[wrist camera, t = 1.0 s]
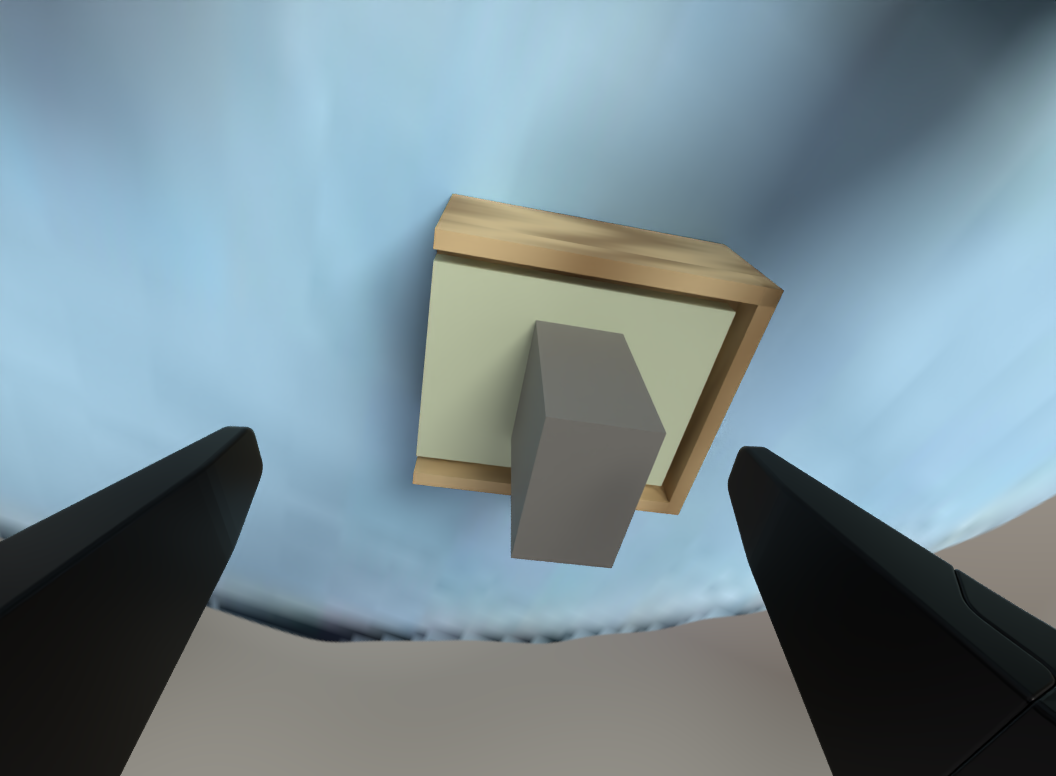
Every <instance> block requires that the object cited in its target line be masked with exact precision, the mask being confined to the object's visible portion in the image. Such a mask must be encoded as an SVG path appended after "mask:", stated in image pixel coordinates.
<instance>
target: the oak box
mask: <svg viewBox="0 0 1056 776" xmlns="http://www.w3.org/2000/svg"><path fill="white" fill-rule="evenodd" d="M433 249H437V253H438V254H444V255H450V256H456V257H461V258H467V259H473V260H479V261H485V262H490V263H496V264H502V265H508V266H514V267H519V268H525V269H531V270H537V271H543V272H548V273H554V274H560V275H566V276H572V277H578V278H583V279H589V280H595V281H601V282H607V283H612V284H618V285H624V286H630V287H636V288H641V289H647V290H653V291H659V292H665V293H670V294H676V295H682V296H688V297H694V298H699V299H705V300H711V301H717V302H723V303H727V304H728V305H729V306H730V307H731V308H732V309H733V310H734V311H735V312H736V313H735V316H734V318H733V320H732V323H731V325H730V327H729V330H728V332H727V334H726V337H725V339H724V341H723V344H722V346H721V348H720V351H719V353H718V355H717V358H716V360H715V362H714V365H713V367H712V369H711V372H710V374H709V376H708V379H707V381H706V383H705V386H704V388H703V390H702V393H701V395H700V397H699V399H698V402H697V404H696V406H695V409H694V411H693V413H692V416H691V418H690V420H689V423H688V425H687V427H686V430H685V432H684V434H683V437H682V439H681V441H680V444H679V446H678V448H677V451H676V453H675V455H674V458H673V460H672V462H671V465H670V467H669V469H668V472H667V474H666V476H665V479H664V481H663V483H662V486H656V485H648V484H646V485H645V487H644V490H643V492H642V495H641V497H640V500H639V502H638V504H637V507H636V509H635V510H640V511H648V512H657V513H665V514H674V515H678V514H679V512H680V510H681V508H682V506H683V503H684V501H685V499H686V497H687V495H688V493H689V491H690V489H691V487H692V484H693V482H694V480H695V478H696V476H697V474H698V472H699V470H700V467H701V465H702V463H703V461H704V459H705V457H706V455H707V453H708V450H709V448H710V446H711V444H712V442H713V440H714V438H715V436H716V433H717V431H718V429H719V427H720V425H721V423H722V421H723V419H724V417H725V414H726V412H727V410H728V408H729V406H730V404H731V402H732V400H733V397H734V395H735V393H736V391H737V389H738V387H739V385H740V383H741V380H742V378H743V376H744V374H745V372H746V370H747V368H748V366H749V363H750V361H751V359H752V357H753V355H754V353H755V351H756V349H757V347H758V344H759V342H760V340H761V338H762V336H763V334H764V332H765V330H766V327H767V325H768V323H769V321H770V319H771V317H772V315H773V313H774V310H775V308H776V306H777V304H778V302H779V300H780V298H781V296H782V293H783V291H784V290H782V289H781V288H780V287H779V286H777V285H776V284H775V283H773V282H772V281H771V280H770V279H768V278H767V277H766V276H764V275H763V274H762V273H761V272H759V271H758V270H757V269H755V268H754V267H753V266H752V265H750V264H749V263H748V262H746V261H745V260H744V259H743V258H741V257H740V256H739V255H737V254H736V253H735V252H734V251H732V250H731V249H730V248H728V247H727V246H726V245H724V244H719V243H714V242H708V241H703V240H698V239H692V238H687V237H682V236H676V235H671V234H666V233H660V232H655V231H650V230H644V229H639V228H634V227H628V226H623V225H618V224H612V223H607V222H602V221H596V220H591V219H586V218H580V217H575V216H569V215H564V214H559V213H553V212H548V211H543V210H537V209H532V208H527V207H521V206H516V205H511V204H505V203H500V202H495V201H489V200H484V199H479V198H473V197H468V196H463V195H457V194H452V196H451V198H450V200H449V202H448V204H447V206H446V208H445V210H444V212H443V214H442V216H441V218H440V220H439V222H438V224H437V226H436V227H435V234H434V245H433ZM413 484H418V485H427V486H435V487H444V488H452V489H461V490H469V491H478V492H486V493H495V494H503V495H511V467H503V466H495V465H487V464H479V463H471V462H463V461H455V460H447V459H438V458H430V457H422V456H418V457H417V461H416V465H415V469H414V473H413Z"/></svg>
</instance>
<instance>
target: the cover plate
mask: <svg viewBox="0 0 1056 776" xmlns="http://www.w3.org/2000/svg"><path fill="white" fill-rule="evenodd" d="M735 313H736V312H735V311H734V310H733V309H732V308H731V307H730V306H729V305H728V304H727V303H723V302H717V301H711V300H705V299H699V298H694V297H688V296H682V295H676V294H670V293H665V292H659V291H653V290H647V289H641V288H636V287H630V286H624V285H618V284H612V283H607V282H601V281H595V280H589V279H583V278H578V277H572V276H566V275H560V274H554V273H548V272H543V271H537V270H531V269H525V268H519V267H514V266H508V265H502V264H496V263H490V262H485V261H479V260H473V259H467V258H461V257H456V256H450V255H444V254H438V253H437V254H436V256H435V259H434V261H433V272H432V284H431V295H430V306H429V317H428V328H427V340H426V351H425V362H424V373H423V384H422V396H421V407H420V418H419V429H418V441H417V452H416V456H422V457H430V458H438V459H447V460H455V461H463V462H471V463H479V464H487V465H495V466H503V467H511V558H517V559H527V560H536V561H546V562H556V563H566V564H575V565H585V566H595V567H605V568H612V566H613V563H614V561H615V558H616V556H617V554H618V551H619V549H620V546H621V544H622V541H623V539H624V536H625V534H626V531H627V529H628V527H629V524H630V522H631V519H632V517H633V514H634V512H635V509H636V507H637V504H638V502H639V500H640V497H641V495H642V492H643V490H644V487H645V485H646V484H648V485H656V486H662V483H663V481H664V479H665V476H666V474H667V472H668V469H669V467H670V465H671V462H672V460H673V458H674V455H675V453H676V451H677V448H678V446H679V444H680V441H681V439H682V437H683V434H684V432H685V430H686V427H687V425H688V423H689V420H690V418H691V416H692V413H693V411H694V409H695V406H696V404H697V402H698V399H699V397H700V395H701V393H702V390H703V388H704V386H705V383H706V381H707V379H708V376H709V374H710V372H711V369H712V367H713V365H714V362H715V360H716V358H717V355H718V353H719V351H720V348H721V346H722V344H723V341H724V339H725V337H726V334H727V332H728V330H729V327H730V325H731V323H732V320H733V318H734V316H735Z"/></svg>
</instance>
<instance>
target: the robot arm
mask: <svg viewBox="0 0 1056 776" xmlns="http://www.w3.org/2000/svg"><path fill="white" fill-rule="evenodd" d="M262 470H263V463H262V459H261V455H260V451H259V448H258V444H257V440H256V436H255V433H254V431H253V430H252V429H251V428H249V427H237V426H227V427H224V428H222V429H220V430H218V431H216V432H214V433H212V434H210V435H208V436H206V437H204V438H202V439H200V440H198V441H196V442H194V443H192V444H190V445H189V446H187V447H185V448H183V449H181V450H179V451H177V452H175V453H173V454H171V455H169V456H167V457H165V458H163V459H161V460H159V461H157V462H155V463H153V464H151V465H149V466H147V467H145V468H143V469H142V470H140V471H138V472H136V473H134V474H132V475H130V476H128V477H126V478H124V479H122V480H120V481H118V482H116V483H114V484H112V485H110V486H108V487H106V488H104V489H102V490H100V491H98V492H97V493H95V494H93V495H91V496H89V497H87V498H85V499H83V500H81V501H79V502H77V503H75V504H73V505H71V506H69V507H67V508H65V509H63V510H61V511H59V512H57V513H55V514H53V515H51V516H50V517H48V518H46V519H44V520H42V521H40V522H38V523H36V524H34V525H32V526H30V527H28V528H26V529H24V530H22V531H20V532H18V533H16V534H14V535H12V536H10V537H8V538H6V539H5V540H3V541H1V542H0V776H120V775H121V773H122V771H123V769H124V767H125V765H126V763H127V761H128V759H129V757H130V755H131V753H132V751H133V749H134V747H135V745H136V743H137V741H138V739H139V737H140V735H141V733H142V731H143V729H144V728H145V725H146V723H147V722H148V720H149V718H150V716H151V714H152V712H153V710H154V708H155V706H156V704H157V702H158V700H159V698H160V695H161V694H162V692H163V690H164V688H165V686H166V684H167V682H168V680H169V678H170V676H171V674H172V672H173V670H174V668H175V666H176V664H177V662H178V660H179V658H180V656H181V654H182V652H183V650H184V648H185V646H186V644H187V642H188V640H189V638H190V636H191V634H192V632H193V630H194V628H195V626H196V624H197V622H198V620H199V618H200V617H201V614H202V612H203V610H204V609H205V607H206V605H207V603H208V601H209V599H210V597H211V595H212V593H213V591H214V589H215V587H216V585H217V583H218V581H219V579H220V577H221V575H222V573H223V571H224V569H225V567H226V565H227V563H228V561H229V559H230V557H231V555H232V552H233V550H234V548H235V545H236V543H237V541H238V538H239V535H240V533H241V530H242V527H243V525H244V522H245V519H246V516H247V514H248V511H249V508H250V505H251V503H252V500H253V497H254V495H255V492H256V489H257V486H258V484H259V481H260V478H261V475H262ZM728 491H729V495H730V499H731V503H732V506H733V510H734V514H735V517H736V521H737V525H738V528H739V532H740V535H741V539H742V543H743V546H744V550H745V553H746V557H747V560H748V563H749V566H750V568H751V571H752V574H753V576H754V579H755V581H756V584H757V586H758V589H759V591H760V594H761V596H762V599H763V601H764V604H765V606H766V609H767V611H768V614H769V616H770V619H771V621H772V624H773V626H774V629H775V631H776V634H777V637H778V639H779V642H780V644H781V647H782V649H783V651H784V654H785V657H786V659H787V661H788V664H789V667H790V669H791V672H792V674H793V677H794V679H795V682H796V684H797V687H798V689H799V692H800V694H801V697H802V699H803V702H804V704H805V707H806V709H807V712H808V714H809V716H810V719H811V722H812V724H813V727H814V729H815V732H816V734H817V737H818V739H819V742H820V744H821V747H822V749H823V751H824V754H825V757H826V759H827V762H828V764H829V767H830V770H831V772H832V774H833V776H1056V629H1055V628H1053V627H1052V626H1050V625H1048V624H1047V623H1045V622H1043V621H1041V620H1039V619H1038V618H1036V617H1034V616H1033V615H1031V614H1029V613H1028V612H1026V611H1024V610H1023V609H1021V608H1019V607H1018V606H1016V605H1014V604H1013V603H1011V602H1010V601H1008V600H1006V599H1005V598H1003V597H1001V596H1000V595H998V594H996V593H995V592H993V591H991V590H990V589H988V588H987V587H985V586H983V585H982V584H980V583H979V582H977V581H976V580H974V579H972V578H971V577H969V576H968V575H966V574H965V573H963V572H961V571H960V570H958V569H955V570H954V568H953V566H952V565H950V564H949V563H947V562H946V561H944V560H942V559H941V558H939V557H938V556H936V555H934V554H933V553H931V552H930V551H928V550H927V549H925V548H923V547H922V546H920V545H919V544H917V543H915V542H914V541H912V540H911V539H909V538H908V537H906V536H904V535H903V534H901V533H900V532H898V531H896V530H895V529H893V528H892V527H890V526H889V525H887V524H885V523H884V522H882V521H881V520H879V519H877V518H876V517H874V516H873V515H871V514H870V513H868V512H866V511H865V510H863V509H862V508H860V507H858V506H857V505H855V504H854V503H852V502H851V501H849V500H847V499H846V498H844V497H843V496H841V495H839V494H838V493H836V492H835V491H833V490H832V489H830V488H828V487H827V486H825V485H824V484H822V483H821V482H819V481H817V480H816V479H814V478H813V477H811V476H809V475H808V474H806V473H805V472H803V471H802V470H800V469H798V468H797V467H795V466H794V465H792V464H790V463H789V462H787V461H786V460H784V459H783V458H781V457H779V456H778V455H776V454H775V453H773V452H772V451H770V450H768V449H767V448H765V447H754V446H744V447H742V448H741V449H740V450H739V452H738V454H737V457H736V459H735V462H734V465H733V468H732V470H731V473H730V476H729V479H728Z"/></svg>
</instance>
